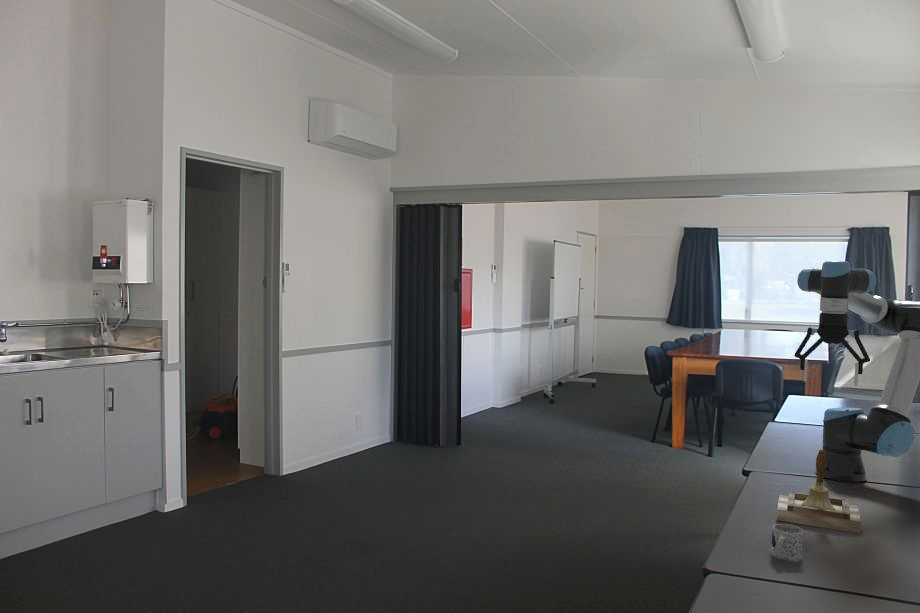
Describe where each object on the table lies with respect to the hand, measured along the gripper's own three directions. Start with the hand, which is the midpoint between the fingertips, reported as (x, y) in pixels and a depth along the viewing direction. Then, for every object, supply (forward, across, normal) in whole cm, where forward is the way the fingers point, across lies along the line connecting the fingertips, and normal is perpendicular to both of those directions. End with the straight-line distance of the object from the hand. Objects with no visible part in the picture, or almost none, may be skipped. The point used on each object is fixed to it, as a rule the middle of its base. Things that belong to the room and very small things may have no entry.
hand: (830, 383), depth 220 cm
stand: (+35, -2, -24) cm, 42 cm away
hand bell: (+32, -2, -24) cm, 40 cm away
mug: (+35, -9, -60) cm, 70 cm away
